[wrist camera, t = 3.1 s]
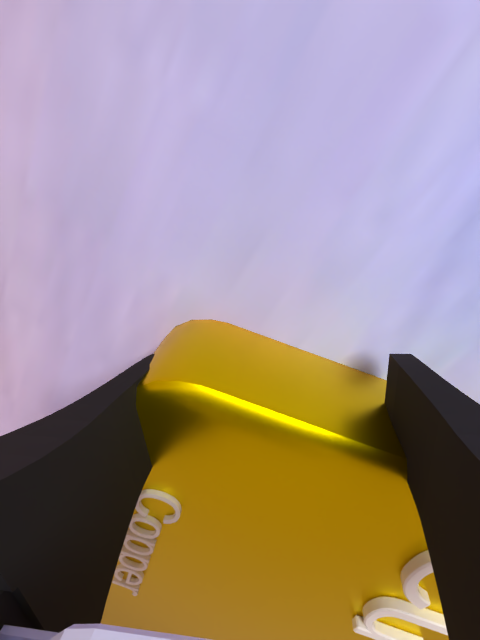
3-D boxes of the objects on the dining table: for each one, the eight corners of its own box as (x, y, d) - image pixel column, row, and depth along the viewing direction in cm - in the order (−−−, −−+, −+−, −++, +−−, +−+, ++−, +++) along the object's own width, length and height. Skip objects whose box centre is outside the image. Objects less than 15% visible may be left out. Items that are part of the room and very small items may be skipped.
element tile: (174, 297, 13) (113, 371, 9) (553, 435, 13) (674, 573, 9) (115, 526, 20) (65, 629, 16) (364, 614, 20) (381, 740, 16)
